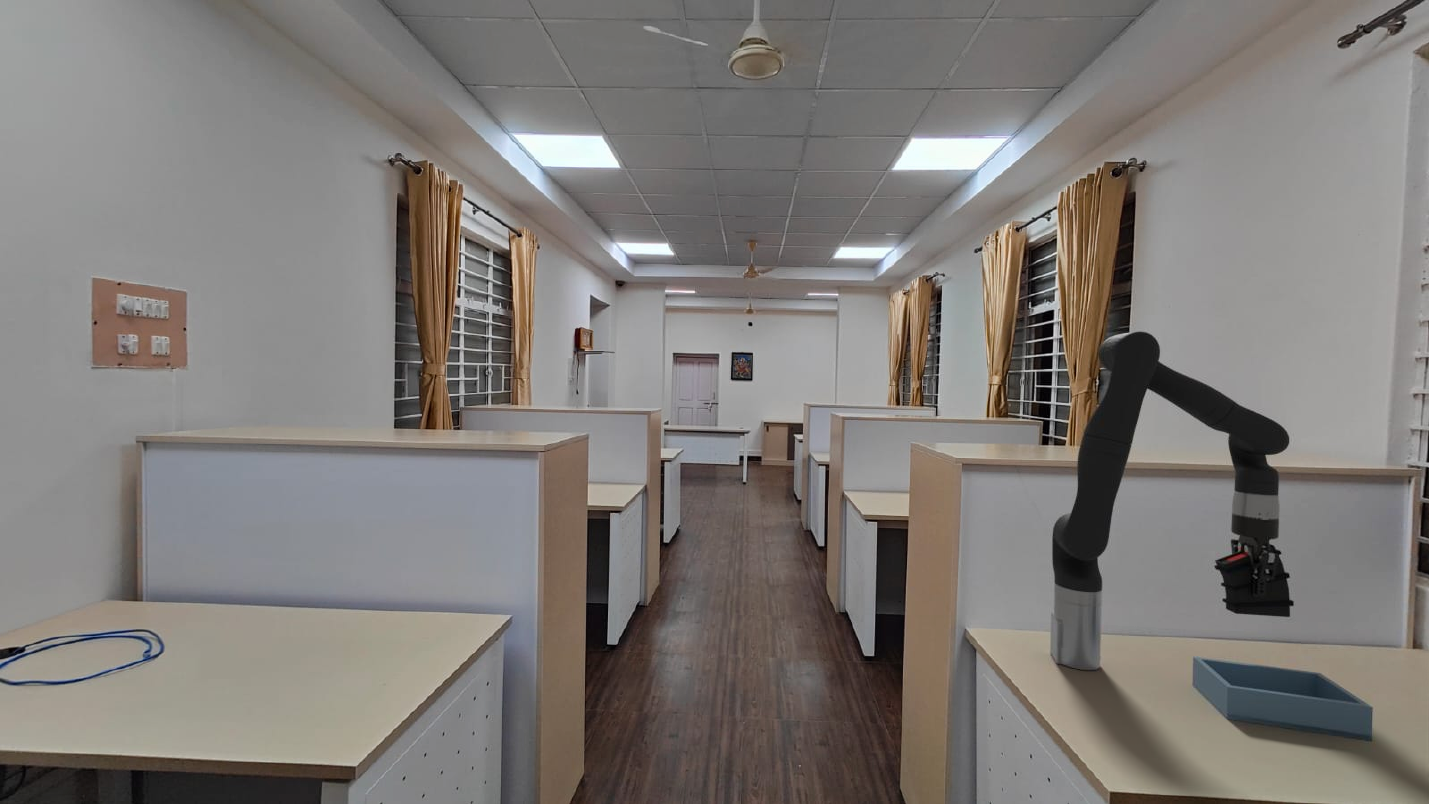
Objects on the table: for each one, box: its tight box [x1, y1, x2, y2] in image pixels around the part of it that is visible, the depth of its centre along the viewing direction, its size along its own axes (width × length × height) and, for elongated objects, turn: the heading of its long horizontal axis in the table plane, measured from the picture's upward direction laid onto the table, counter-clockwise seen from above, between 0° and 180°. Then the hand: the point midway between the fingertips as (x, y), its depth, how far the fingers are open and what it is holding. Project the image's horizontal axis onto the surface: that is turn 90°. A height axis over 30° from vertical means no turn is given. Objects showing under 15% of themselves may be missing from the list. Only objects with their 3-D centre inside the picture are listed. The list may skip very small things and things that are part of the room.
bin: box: [1191, 656, 1374, 742], centre depth 114 cm, size 21×14×6 cm, turn 72°
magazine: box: [1213, 543, 1295, 618], centre depth 128 cm, size 4×13×15 cm, turn 84°
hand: (1252, 592), depth 128 cm, fingers closed on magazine, 4 cm apart
